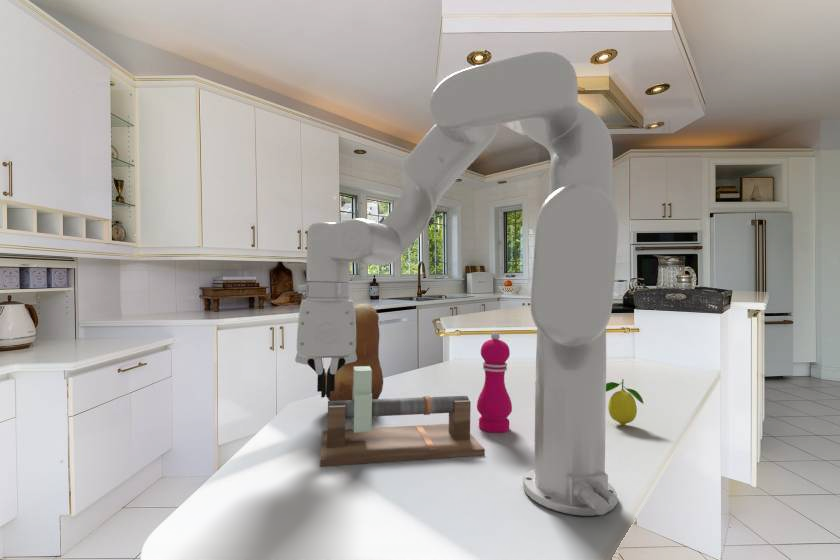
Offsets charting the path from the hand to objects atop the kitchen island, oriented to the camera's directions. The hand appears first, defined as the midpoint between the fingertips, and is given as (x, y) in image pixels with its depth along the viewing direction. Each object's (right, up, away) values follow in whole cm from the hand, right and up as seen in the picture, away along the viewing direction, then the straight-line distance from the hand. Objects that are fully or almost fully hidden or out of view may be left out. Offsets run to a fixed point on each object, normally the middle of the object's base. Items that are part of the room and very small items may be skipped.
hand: (325, 395), depth 74 cm
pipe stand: (+13, -10, +3) cm, 16 cm away
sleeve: (+6, -6, +1) cm, 9 cm away
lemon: (+60, -11, +16) cm, 63 cm away
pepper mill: (+32, -11, +13) cm, 36 cm away
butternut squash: (+2, -10, +23) cm, 25 cm away
